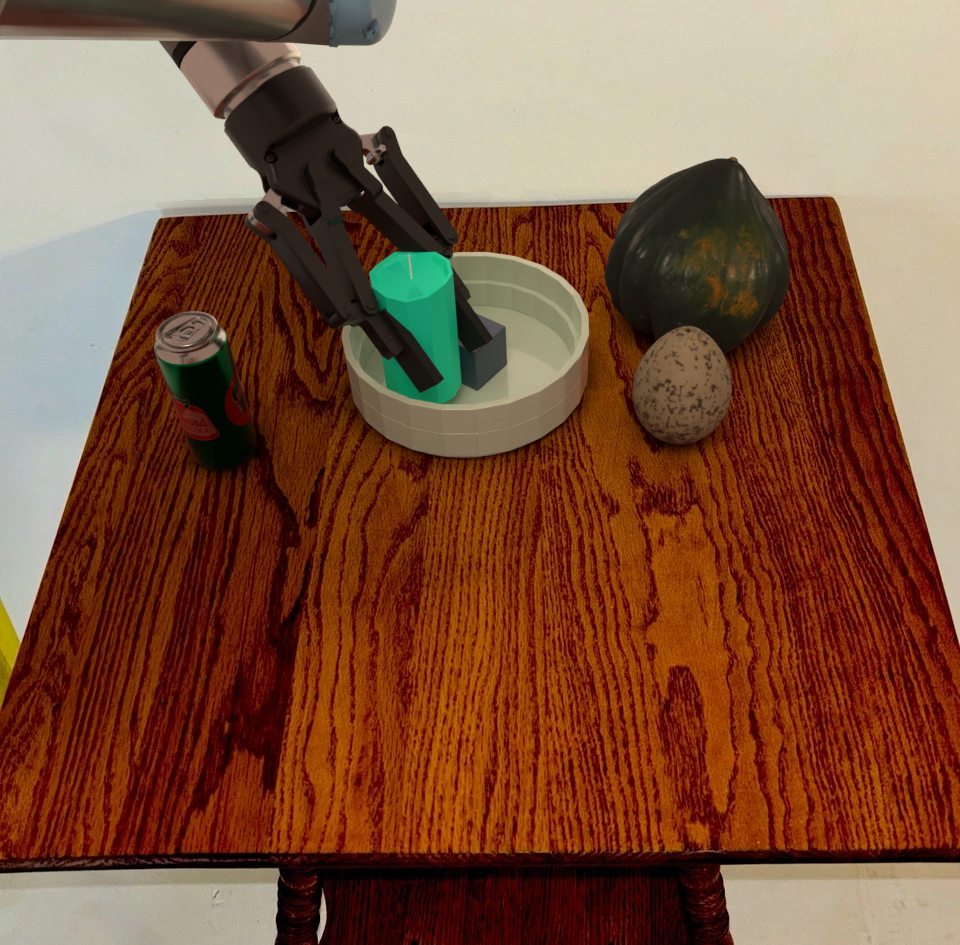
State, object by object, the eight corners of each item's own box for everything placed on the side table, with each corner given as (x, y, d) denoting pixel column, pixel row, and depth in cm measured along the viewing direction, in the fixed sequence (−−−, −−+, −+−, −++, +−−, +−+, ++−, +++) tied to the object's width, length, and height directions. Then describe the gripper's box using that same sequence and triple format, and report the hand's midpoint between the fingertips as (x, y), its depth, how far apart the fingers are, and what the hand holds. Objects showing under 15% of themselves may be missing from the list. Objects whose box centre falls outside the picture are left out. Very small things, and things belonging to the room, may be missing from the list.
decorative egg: (636, 394, 82) (645, 293, 75) (728, 407, 81) (746, 304, 74) (622, 458, 78) (629, 356, 70) (718, 472, 76) (737, 370, 69)
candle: (476, 374, 81) (468, 246, 73) (431, 419, 78) (417, 291, 69) (415, 348, 84) (400, 221, 75) (369, 391, 81) (348, 264, 72)
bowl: (458, 501, 75) (453, 449, 71) (305, 377, 86) (293, 325, 82) (636, 376, 84) (640, 323, 80) (477, 276, 94) (474, 224, 90)
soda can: (180, 455, 80) (134, 335, 71) (229, 419, 83) (192, 298, 74) (222, 485, 78) (180, 364, 69) (272, 446, 80) (238, 325, 71)
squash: (584, 334, 79) (732, 193, 71) (565, 229, 90) (692, 97, 82) (709, 417, 86) (858, 297, 78) (678, 310, 96) (806, 195, 88)
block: (477, 391, 83) (475, 353, 80) (438, 372, 84) (434, 334, 81) (507, 364, 85) (506, 326, 82) (469, 346, 86) (466, 308, 83)
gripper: (333, 70, 80) (505, 318, 84) (147, 172, 71) (351, 444, 75) (374, 17, 73) (558, 289, 78) (176, 122, 64) (397, 423, 69)
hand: (456, 365), depth 77 cm, fingers closed on candle, 5 cm apart
